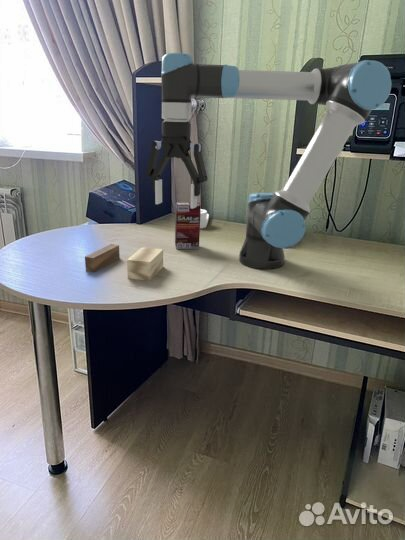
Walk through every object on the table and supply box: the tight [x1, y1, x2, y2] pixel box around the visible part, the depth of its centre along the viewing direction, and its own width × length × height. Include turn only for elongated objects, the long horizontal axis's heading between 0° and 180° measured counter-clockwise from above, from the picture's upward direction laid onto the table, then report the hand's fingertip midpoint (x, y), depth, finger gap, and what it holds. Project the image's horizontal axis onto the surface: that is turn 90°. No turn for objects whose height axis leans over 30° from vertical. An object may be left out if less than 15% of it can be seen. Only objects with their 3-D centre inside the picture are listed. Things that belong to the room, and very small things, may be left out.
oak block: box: [126, 246, 164, 282], centre depth 127 cm, size 7×12×6 cm, turn 167°
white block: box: [200, 208, 210, 229], centre depth 183 cm, size 20×9×7 cm, turn 174°
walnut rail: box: [84, 243, 120, 273], centre depth 132 cm, size 3×14×4 cm, turn 158°
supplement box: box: [174, 202, 202, 250], centre depth 149 cm, size 9×5×16 cm, turn 97°
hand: (175, 205), depth 116 cm, fingers open, 10 cm apart
